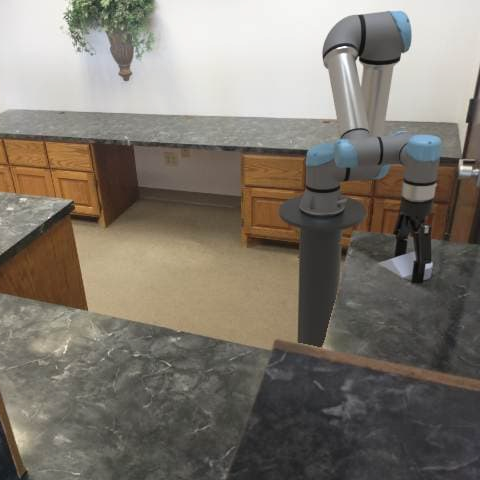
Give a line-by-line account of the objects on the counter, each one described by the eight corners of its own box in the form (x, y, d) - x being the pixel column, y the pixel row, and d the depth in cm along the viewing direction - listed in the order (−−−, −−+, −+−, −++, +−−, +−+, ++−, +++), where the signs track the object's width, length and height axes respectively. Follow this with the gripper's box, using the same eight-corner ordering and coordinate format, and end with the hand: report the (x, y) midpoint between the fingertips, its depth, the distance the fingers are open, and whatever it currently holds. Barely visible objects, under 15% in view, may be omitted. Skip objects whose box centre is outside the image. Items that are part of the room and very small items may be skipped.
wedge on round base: (401, 288, 134) (438, 275, 138) (404, 266, 131) (442, 253, 135) (376, 273, 142) (412, 261, 146) (378, 252, 139) (415, 240, 143)
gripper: (455, 213, 119) (442, 293, 129) (413, 180, 140) (404, 250, 149) (422, 216, 119) (411, 295, 129) (385, 182, 140) (378, 252, 150)
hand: (407, 271), depth 139 cm, fingers closed on wedge on round base, 11 cm apart
